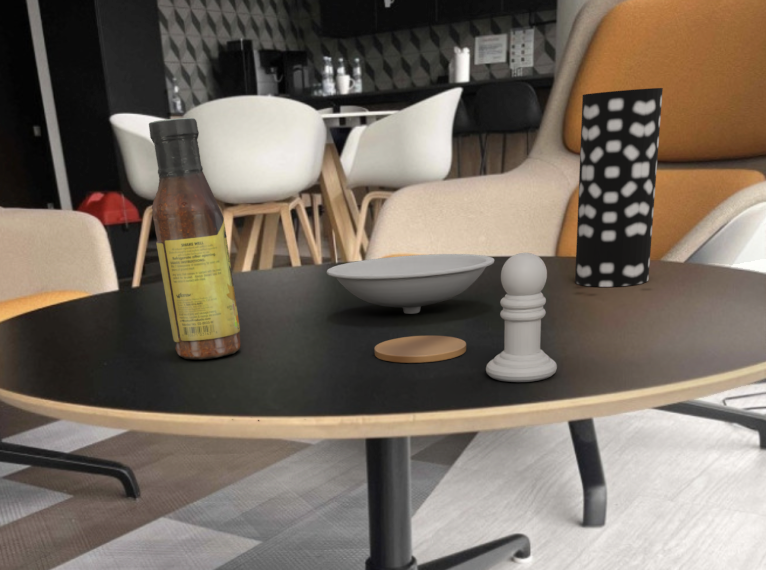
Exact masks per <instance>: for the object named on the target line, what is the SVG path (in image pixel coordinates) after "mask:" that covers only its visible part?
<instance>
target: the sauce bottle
mask: <svg viewBox="0 0 766 570" xmlns="http://www.w3.org/2000/svg"><path fill="white" fill-rule="evenodd" d="M148 129H149V136H150V137H149V138H150V140H151V142H152V143H153V145H154V152H155V157H156V164H157V175H158V178H159V179H158V186H157V191H156V194H155V196H154V199H153V202H152V206H151V209H152V212H151V215H152V220H153V225H154V231H155V236H156V242H155V243H156V251H157V254H158V261H159V266H160V273H161V278H162V284H163V289H164V294H165V300H166V306H167V313H168V318H169V322H170V329H171V334H172V340H173V342H174V343H175V351H176V353H177V355H178V356H179V357H181V358H183V359H185V360H195V361H199V360H200V361H201V360H212V359H218V358H221V357H222V358H223V357H225V356H229V355H233V354H236V352H238V351H239V350H240V348H241V336H240V335H241V333H240V332H241V326H240V320H239V319H240V318H239V313H238V306H237V300H236V294H235V285H234V278H233V272H232V263H231V257H230V250H229V245H228V238H227V237H228V236H227V232H226V224H225V217H224V215H223V213H222V211H221V209H220V206H219V204H218V202H217V200H216V197H215V194H214V193H213V191H212V188H211V186H210V184H209V181H208V180H207V178H206V176H205V173H204V168H203V165H202V163H201V162H202V161H201V155H200V146H199V141H198V139H199V133H200V132H199V127H198V122H197V119H195V118H194V117H179V118H169V119H161V120H154V121H150V122H149V123H148Z"/></svg>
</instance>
